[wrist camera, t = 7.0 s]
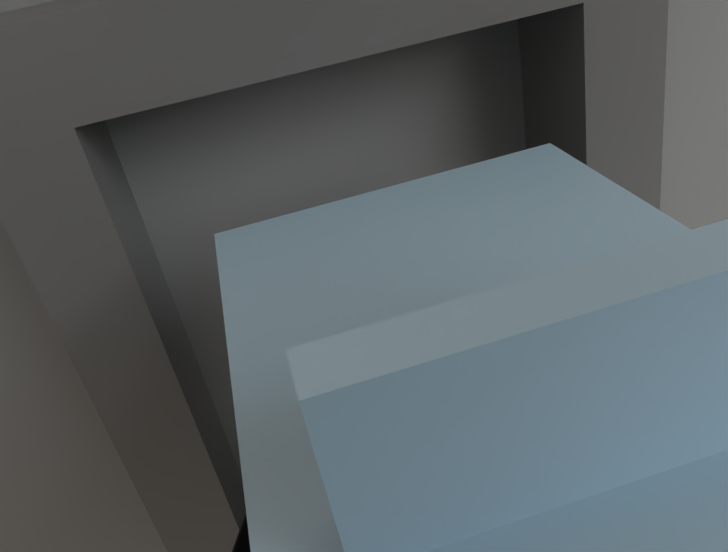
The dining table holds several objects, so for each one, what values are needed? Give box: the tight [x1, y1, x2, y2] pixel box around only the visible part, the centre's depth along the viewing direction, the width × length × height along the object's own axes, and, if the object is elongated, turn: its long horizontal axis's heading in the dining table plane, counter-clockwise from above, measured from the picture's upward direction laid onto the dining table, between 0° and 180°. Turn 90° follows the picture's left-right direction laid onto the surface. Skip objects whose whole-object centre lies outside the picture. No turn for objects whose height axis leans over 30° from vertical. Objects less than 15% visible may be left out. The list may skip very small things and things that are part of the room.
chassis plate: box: [0, 0, 728, 552], centre depth 12 cm, size 16×18×3 cm
